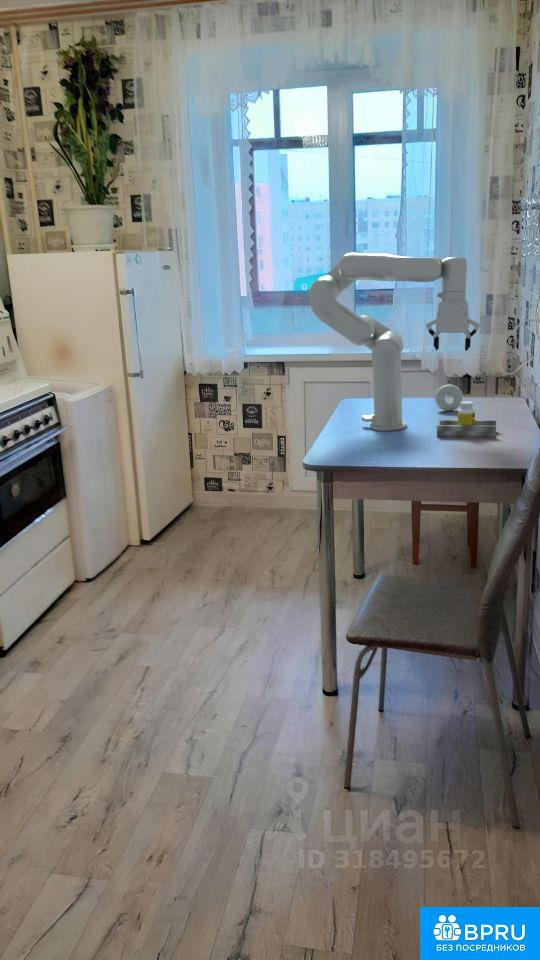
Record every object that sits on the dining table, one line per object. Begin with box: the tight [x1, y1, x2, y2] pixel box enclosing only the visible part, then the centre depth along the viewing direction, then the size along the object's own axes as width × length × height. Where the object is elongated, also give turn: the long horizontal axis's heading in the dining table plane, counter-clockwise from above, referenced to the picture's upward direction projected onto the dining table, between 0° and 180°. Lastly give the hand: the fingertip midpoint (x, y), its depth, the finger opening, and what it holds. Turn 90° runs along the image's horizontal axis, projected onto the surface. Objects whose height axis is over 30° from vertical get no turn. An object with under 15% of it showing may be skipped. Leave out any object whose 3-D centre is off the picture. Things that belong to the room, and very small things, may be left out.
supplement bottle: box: [457, 400, 476, 425], centre depth 248 cm, size 5×5×10 cm
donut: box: [434, 383, 464, 412], centre depth 284 cm, size 10×4×10 cm, turn 83°
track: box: [436, 419, 497, 439], centre depth 249 cm, size 18×9×4 cm, turn 72°
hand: (451, 349), depth 254 cm, fingers open, 9 cm apart
